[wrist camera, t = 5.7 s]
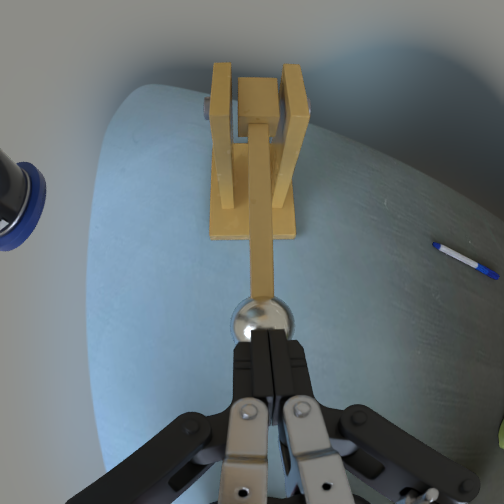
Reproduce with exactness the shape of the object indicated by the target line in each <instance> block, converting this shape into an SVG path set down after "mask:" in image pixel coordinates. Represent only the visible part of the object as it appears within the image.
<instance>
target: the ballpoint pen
mask: <svg viewBox="0 0 504 504" xmlns="http://www.w3.org/2000/svg"><path fill="white" fill-rule="evenodd" d="M432 245H433V246H434V247H435V248H437V249H438V250H440V251H442V252H444V253H446V254H448V255H450V256H452V257H454V258H456V259H458V260H460V261H462V262H464V263H466V264H468V265H470V266H472V267H474V268H475V269H476V270H478V271H480V272H482V273H484V274H486V275H487V276H489V277H491V278H493V279H496V280H497V279H498V278H499V277H500V276H499V275H498V274H497V273H495V272H494V271H492V270H490V269H489V268H487V267H486V266H483V265H481V264H479V263H476V262H475V261H473V260H471V259H469V258H467V257H465V256H463V255H461V254H459V253H458V252H456V251H454V250H452V249H450V248H448V247H446V246H444V245H442V244H440V243H436V242H433V244H432Z"/></svg>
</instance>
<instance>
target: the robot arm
mask: <svg viewBox="0 0 504 504" xmlns="http://www.w3.org/2000/svg"><path fill="white" fill-rule="evenodd" d="M31 194H32V181H31V178H30V176H29V174H28V173H27V172H26V171H25V170H24V169H22V168H20V167H19V166H18V165H17V164H16V163H15V162H14V161H13V160H12V159H11V158H10V157H9V156H8V155H6V154H5V153H4V152H3V151H2V150H1V149H0V237H4V236H6V235H8V234H9V233H10V232H12V231H13V230H14V229H15V228H16V226H17V225H18V224H19V223H20V221H21V220H22V218H23V216H24V214H25V213H26V210H27V208H28V205H29V203H30V199H31ZM271 420H272V426H274V425H278V432H279V435H278V445H279V450H280V456H281V461H282V466H283V471H284V477H285V492H286V498H284V499H280V498H273V497H267V481H268V459H267V449H268V427H269V426H270V425H271ZM222 460H223V462H222V470H221V479H220V488H219V497H218V501H215V502H212V503H210V504H371V503H369V502H368V501H367V500H365V499H364V498H362V497H360V496H358V495H355V494H353V493H352V491H351V488H350V485H349V482H348V478H347V475H346V472H345V469H346V470H348V471H349V472H350V473H352V474H353V475H355V476H356V477H357V478H359V479H360V480H362V481H363V482H364V483H366V484H367V485H369V486H370V487H372V488H373V489H375V490H376V491H378V492H379V493H381V494H382V495H384V496H385V497H387V498H388V499H390V500H391V501H393V502H394V503H396V504H466V503H468V502H470V501H471V500H473V499H474V498H475V497H476V496H477V495H478V493H479V490H480V480H479V477H478V476H477V475H476V474H475V473H474V472H472V471H470V470H468V469H466V468H465V467H463V466H461V465H459V464H458V463H456V462H454V461H453V460H451V459H449V458H447V457H446V456H444V455H442V454H441V453H439V452H437V451H436V450H434V449H432V448H431V447H429V446H428V445H426V444H424V443H423V442H421V441H419V440H418V439H416V438H415V437H413V436H411V435H410V434H408V433H407V432H405V431H404V430H402V429H401V428H399V427H397V426H396V425H394V424H393V423H391V422H390V421H388V420H387V419H385V418H384V417H382V416H381V415H379V414H378V413H376V412H375V411H373V410H372V409H370V408H369V407H367V406H365V405H360V404H355V405H351V406H349V407H347V408H346V409H345V410H339V409H333V408H328V407H325V406H323V405H321V404H320V403H319V402H318V401H317V400H316V399H315V397H314V395H313V391H312V386H311V381H310V377H309V372H308V367H307V362H306V359H305V353H304V349H303V347H302V346H301V344H300V343H299V342H298V341H297V340H287V338H286V332H285V329H268V333H267V329H259V330H250V341H242V342H238V344H237V345H236V347H235V349H234V356H233V400H232V402H231V404H230V406H229V407H228V408H227V409H226V410H224V411H223V412H221V413H218V414H215V415H211V416H207V417H206V416H204V415H203V414H201V413H197V412H186V413H183V414H181V415H180V416H178V417H177V418H176V419H175V420H173V421H172V422H171V423H170V424H169V425H167V426H166V427H165V428H164V429H163V430H161V431H160V432H159V433H158V434H156V435H155V436H154V437H153V438H152V439H150V440H149V441H148V442H147V443H145V444H144V445H143V446H142V447H140V448H139V449H138V450H136V451H135V452H134V453H133V454H131V455H130V456H129V457H127V458H126V459H125V460H123V461H122V462H121V463H119V464H118V465H117V466H116V467H114V468H113V469H111V470H110V471H109V472H107V473H106V474H105V475H103V476H102V477H101V478H99V479H98V480H96V481H95V482H94V483H92V484H91V485H89V486H88V487H86V488H85V489H84V490H82V491H81V492H79V493H78V494H76V495H75V496H73V497H72V498H70V499H69V500H68V501H67V502H66V503H65V504H171V503H172V502H173V501H174V500H175V499H176V498H178V497H179V496H180V495H181V494H182V493H183V492H184V491H186V490H187V489H188V488H189V487H190V486H191V485H192V484H193V483H194V482H196V481H197V480H198V479H199V478H200V477H201V476H202V475H203V474H204V473H205V472H206V471H207V470H208V469H209V468H210V467H211V466H212V465H213V464H214V463H215V462H218V461H222Z"/></svg>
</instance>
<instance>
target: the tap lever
mask: <svg viewBox="0 0 504 504" xmlns="http://www.w3.org/2000/svg"><path fill="white" fill-rule="evenodd" d="M279 119H280V110H279V97H278V84H277V78H257V77H255V78H253V77H239V78H238V137H248V179H249V240H250V297H248V298H246V299H244V300H243V301H242V302H240V303H239V304H238V306H237V307H236V308H235V310H234V312H233V314H232V316H231V320H230V332H231V336H232V338H233V341H234V342H235V344H236V345H237V344H238V342H242V341H250V330H259V329H267V333H268V329H285V332H286V338H287V340H292V338H293V335H294V331H295V320H294V316H293V313H292V311H291V310H290V308H289V307H288V305H287V304H286V303H285V302H284V301H282V300H281V299H279V298H278V297H275V296H274V268H273V229H272V198H271V171H270V147H269V137H275V136H276V131H277V127H278V123H279Z"/></svg>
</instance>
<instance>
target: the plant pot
mask: <svg viewBox="0 0 504 504" xmlns="http://www.w3.org/2000/svg"><path fill="white" fill-rule="evenodd" d="M498 437H499V446H500V447H501V448H503V449H504V419H503V421H502V424H501V426H500V430H499V434H498Z"/></svg>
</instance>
